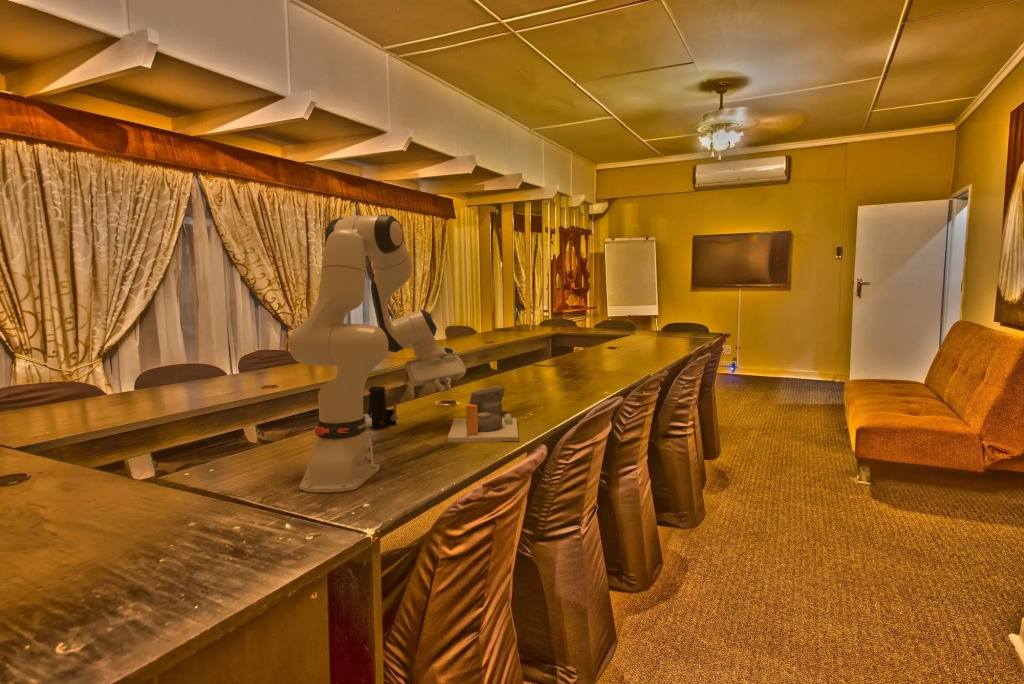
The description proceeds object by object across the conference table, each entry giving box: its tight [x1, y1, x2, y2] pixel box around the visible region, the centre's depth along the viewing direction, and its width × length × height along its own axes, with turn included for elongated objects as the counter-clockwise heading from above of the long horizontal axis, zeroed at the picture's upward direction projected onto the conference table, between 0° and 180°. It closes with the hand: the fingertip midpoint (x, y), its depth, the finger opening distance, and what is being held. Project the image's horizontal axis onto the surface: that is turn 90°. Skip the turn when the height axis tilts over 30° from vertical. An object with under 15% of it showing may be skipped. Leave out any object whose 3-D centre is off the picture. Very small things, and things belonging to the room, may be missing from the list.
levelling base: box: [447, 412, 519, 443], centre depth 181 cm, size 24×22×4 cm
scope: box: [367, 386, 399, 430], centre depth 187 cm, size 8×14×10 cm
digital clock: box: [468, 385, 506, 416], centre depth 202 cm, size 16×9×11 cm, turn 124°
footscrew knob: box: [465, 403, 503, 434], centre depth 179 cm, size 16×12×9 cm
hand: (446, 390), depth 180 cm, fingers closed
